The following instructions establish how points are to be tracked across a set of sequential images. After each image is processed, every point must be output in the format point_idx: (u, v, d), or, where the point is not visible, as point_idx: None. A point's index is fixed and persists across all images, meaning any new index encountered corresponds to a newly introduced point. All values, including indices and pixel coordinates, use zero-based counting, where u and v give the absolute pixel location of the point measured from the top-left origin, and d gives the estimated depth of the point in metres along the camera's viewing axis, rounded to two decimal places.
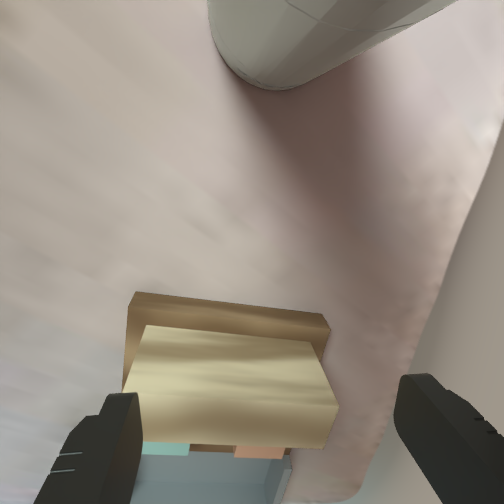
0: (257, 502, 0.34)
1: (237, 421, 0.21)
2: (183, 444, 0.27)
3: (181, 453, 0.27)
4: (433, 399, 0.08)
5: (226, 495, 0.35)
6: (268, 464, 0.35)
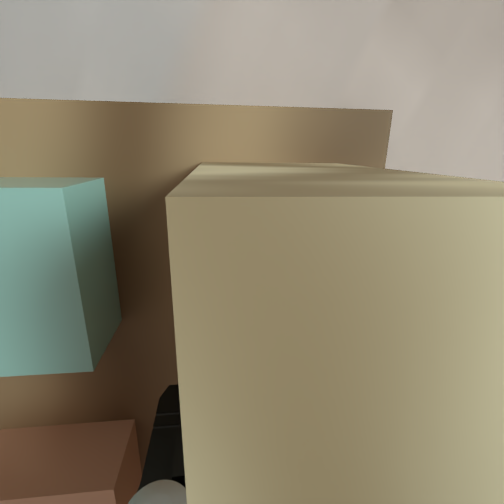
0: None
1: None
2: None
3: None
4: None
5: None
6: None
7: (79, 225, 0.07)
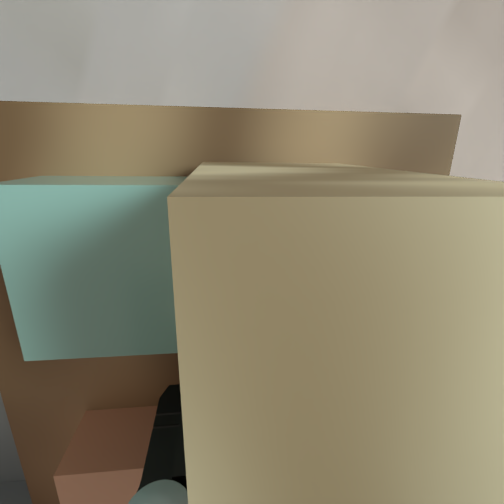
0: None
1: None
2: (76, 340, 0.08)
3: (30, 341, 0.08)
4: None
5: None
6: None
7: None
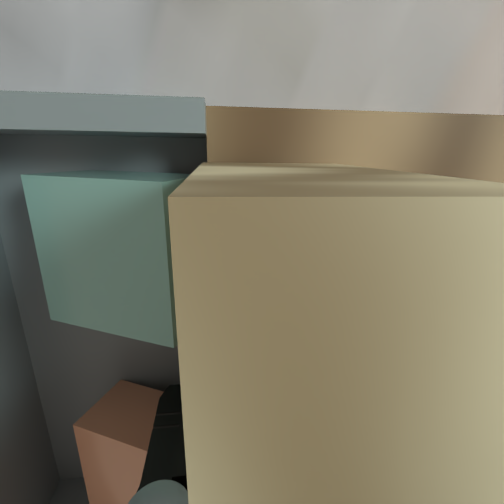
0: None
1: None
2: (81, 311, 0.09)
3: (53, 304, 0.10)
4: None
5: (24, 430, 0.12)
6: None
7: None
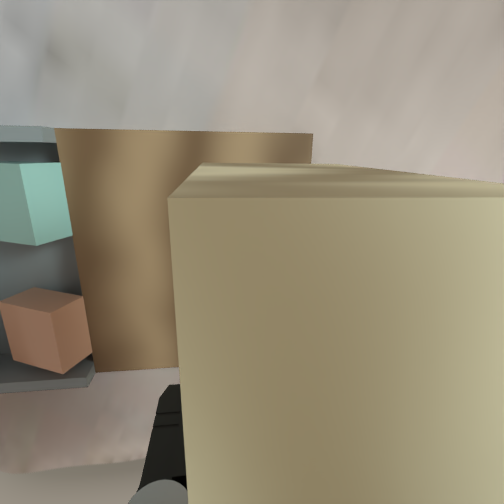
0: None
1: None
2: None
3: None
4: None
5: None
6: None
7: (31, 180, 0.17)
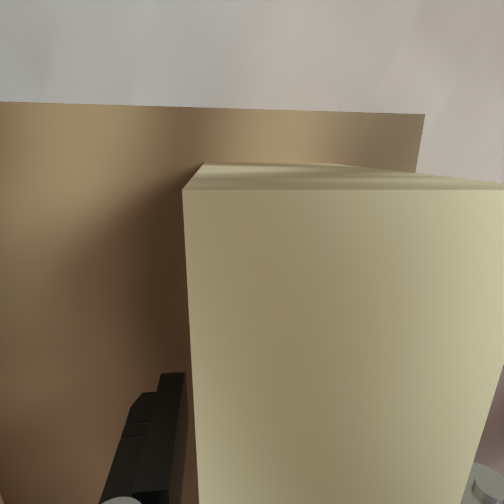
0: None
1: None
2: None
3: None
4: None
5: None
6: None
7: None
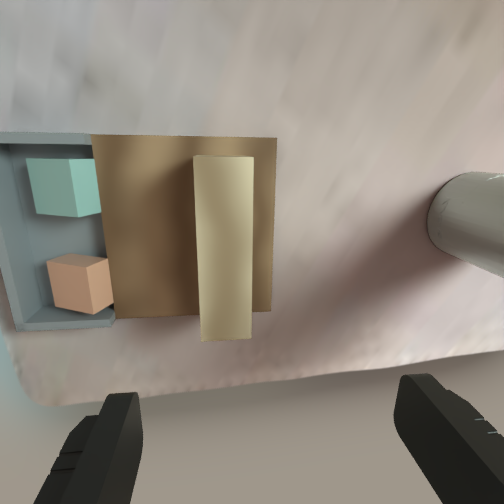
0: (30, 305, 0.29)
1: (227, 261, 0.23)
2: (47, 208, 0.26)
3: (37, 206, 0.26)
4: (433, 399, 0.08)
5: (26, 268, 0.29)
6: None
7: (76, 171, 0.25)
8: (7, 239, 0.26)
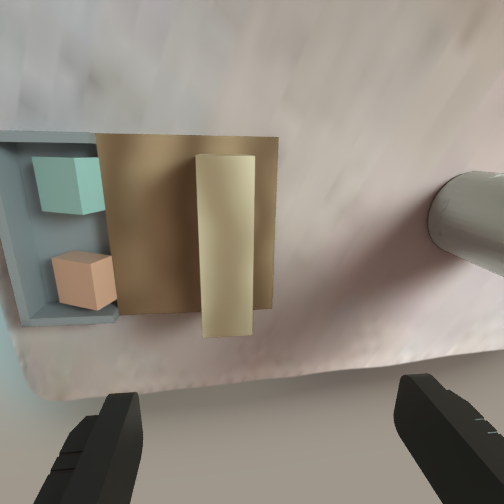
0: (35, 301, 0.30)
1: (228, 258, 0.23)
2: (52, 205, 0.26)
3: (43, 204, 0.27)
4: (433, 399, 0.08)
5: (32, 265, 0.29)
6: None
7: (81, 169, 0.25)
8: (13, 236, 0.27)
